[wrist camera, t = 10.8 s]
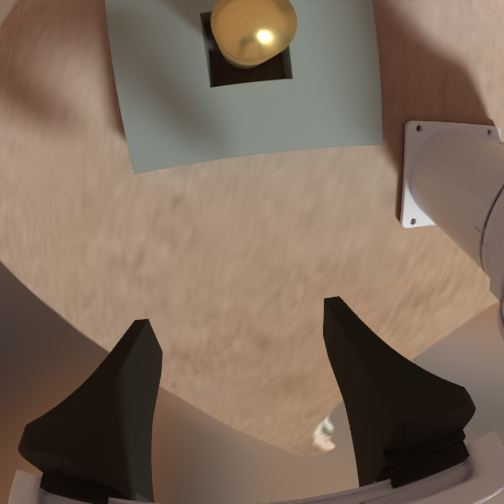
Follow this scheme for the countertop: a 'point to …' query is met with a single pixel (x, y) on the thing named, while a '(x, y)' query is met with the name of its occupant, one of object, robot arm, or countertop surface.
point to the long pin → (252, 30)
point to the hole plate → (242, 84)
